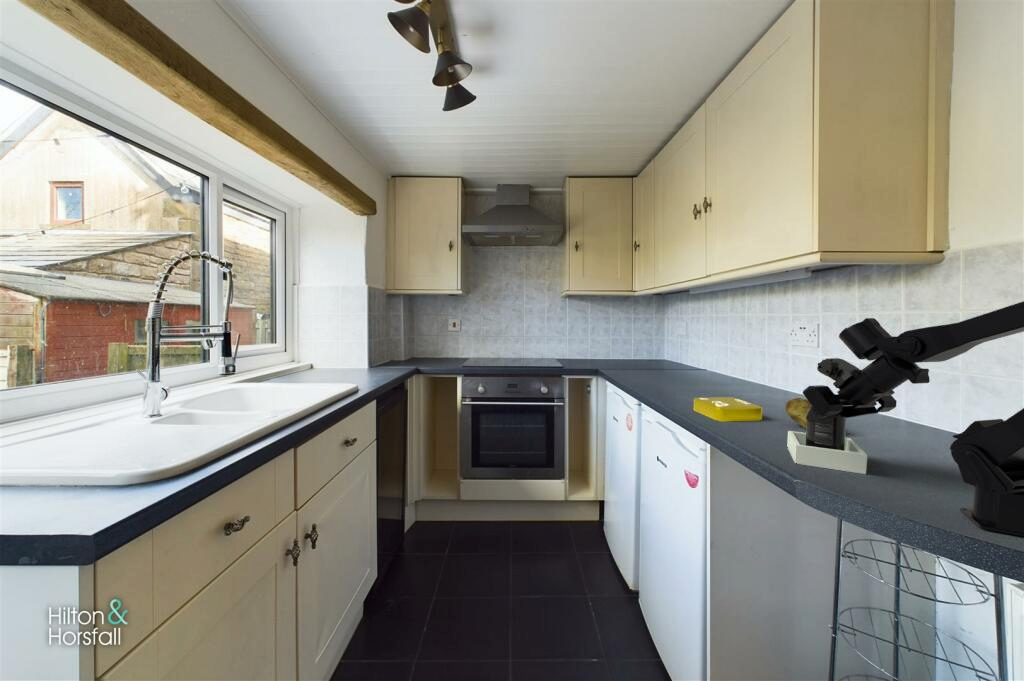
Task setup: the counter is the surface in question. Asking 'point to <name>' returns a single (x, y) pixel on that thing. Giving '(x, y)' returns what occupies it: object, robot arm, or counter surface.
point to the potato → (798, 410)
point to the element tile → (728, 409)
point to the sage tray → (827, 454)
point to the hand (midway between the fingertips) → (820, 419)
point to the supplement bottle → (827, 432)
